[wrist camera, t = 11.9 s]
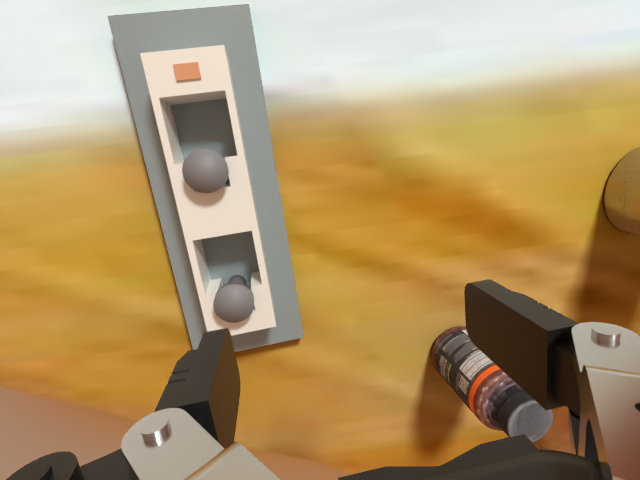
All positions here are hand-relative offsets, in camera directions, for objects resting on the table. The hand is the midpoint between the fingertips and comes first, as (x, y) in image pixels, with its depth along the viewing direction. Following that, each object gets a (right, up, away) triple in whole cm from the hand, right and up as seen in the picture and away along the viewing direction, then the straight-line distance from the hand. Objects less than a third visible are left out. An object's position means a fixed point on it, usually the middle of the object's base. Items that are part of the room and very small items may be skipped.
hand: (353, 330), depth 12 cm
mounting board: (-10, +7, +19) cm, 22 cm away
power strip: (-9, +7, +17) cm, 21 cm away
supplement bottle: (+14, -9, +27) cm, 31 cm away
